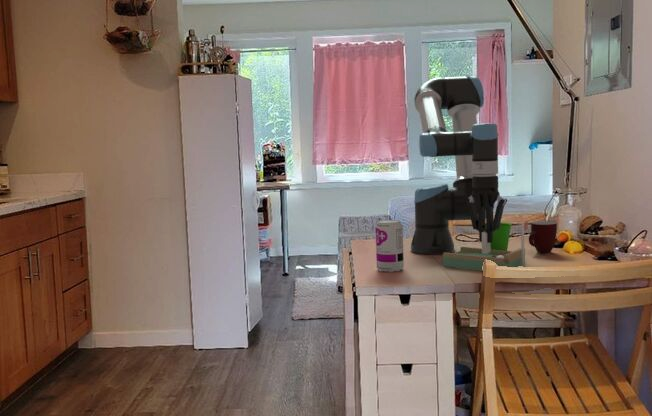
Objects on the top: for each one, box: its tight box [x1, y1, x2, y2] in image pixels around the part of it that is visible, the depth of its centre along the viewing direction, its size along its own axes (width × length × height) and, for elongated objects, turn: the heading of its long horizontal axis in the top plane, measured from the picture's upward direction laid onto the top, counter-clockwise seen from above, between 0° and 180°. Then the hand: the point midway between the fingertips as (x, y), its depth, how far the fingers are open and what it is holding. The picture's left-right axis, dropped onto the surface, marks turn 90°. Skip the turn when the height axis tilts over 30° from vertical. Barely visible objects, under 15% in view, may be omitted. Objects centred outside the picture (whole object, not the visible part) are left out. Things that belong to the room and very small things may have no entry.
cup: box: [485, 221, 512, 251], centre depth 192 cm, size 9×9×11 cm
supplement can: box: [374, 219, 405, 273], centre depth 181 cm, size 8×8×15 cm
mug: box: [528, 220, 558, 255], centre depth 196 cm, size 11×8×10 cm
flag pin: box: [520, 221, 528, 267], centre depth 174 cm, size 2×4×14 cm, turn 139°
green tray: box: [442, 246, 526, 272], centre depth 180 cm, size 21×12×5 cm, turn 49°
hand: (486, 252), depth 180 cm, fingers closed
